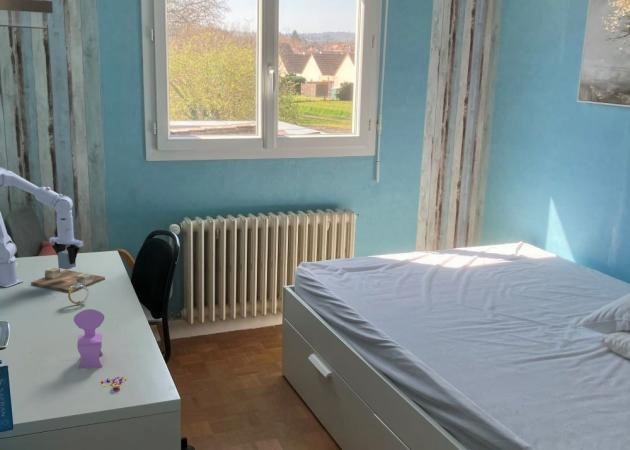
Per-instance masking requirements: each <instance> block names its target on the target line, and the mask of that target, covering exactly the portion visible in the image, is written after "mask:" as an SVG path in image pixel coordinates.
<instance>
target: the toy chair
mask: <svg viewBox="0 0 630 450" xmlns="http://www.w3.org/2000/svg"><path fill="white" fill-rule="evenodd" d="M104 321H105V314H104V313H102V312H101V311H100V310H97V309H93V308H87V309H83V310H80V311H79V312H78V313H77V314H75V315H74V317H73V322H74V324H75V325H76V327H78V328H79V329H81V330H83V332H84V334H78V337H77V342H76V343H77V345H76V346H77V352H78V353H79V357H80V358H81V359H80V361H81V362H80V364H79V367H78V369H79V370H80V369H81V370H83V369H84V370H85V369H91V368H93V369H94V368H102V367H103V364H102V362H101V360H100V356H104V354H103V353H104V352H103V351H102V348H103V346H102V345H103V344H102V342H103V341H102V339H103V333H101V332H100V333H99V332H97V333H96V329H97V328H99V327H100V326H101V325H102V324H103V322H104Z"/></svg>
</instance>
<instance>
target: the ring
mask: <svg viewBox="0 0 630 450" xmlns="http://www.w3.org/2000/svg"><path fill="white" fill-rule="evenodd" d="M83 284H84V283H83ZM83 284H82V283H81V284H80V282H79V283H77V282H76V284H74V285H73V286H71V287H70V289H69V291H68V292H67V297H68V300H69V302H71V303H72V304H74V305H78V306H81V305H82V304H84V303H87V301H88V299H89V297H90V292H89V288H88V286H87V287H85V286H83ZM78 287H82V288H83V289H84V290H85V291H86V296H85V298H84V299H83V300H81V301H80V300H79V301H74V300H73V299H72V298H71V294H72V293H71V292H72V291H73V290H75V289H76V288H78Z"/></svg>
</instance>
